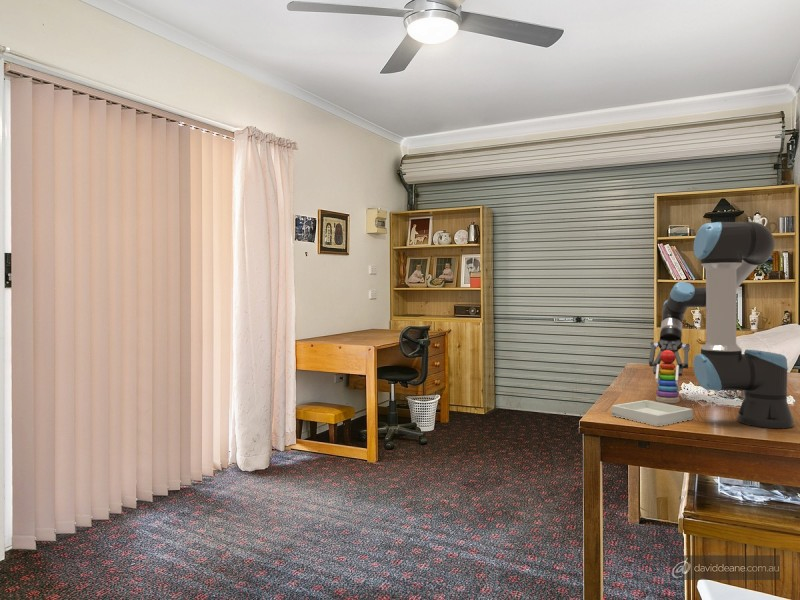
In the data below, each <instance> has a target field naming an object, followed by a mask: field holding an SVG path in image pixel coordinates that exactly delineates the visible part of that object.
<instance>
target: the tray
mask: <svg viewBox="0 0 800 600" xmlns="http://www.w3.org/2000/svg"><path fill="white" fill-rule="evenodd" d="M615 416H616V417H615ZM611 417H615V418H619V417H621V418H620V419H623V418H625V419H624V420H627V419H629V420H628V421H632V420H633V421H632V422H636V421H637V422H636V423H640V422H641V424H644V423H646V424H645V425H648V424H650V426H653V425H654V426H653V427H657V426H660V427H663V425H664V426H668V424H669V425H672V424H673V423H674V424H678V423H677V422H679V423H683V422H682V421H684V422H688V421H687V420H689V421H693V420H694V409H693V408H688V407H684V406H683V407H682V406H679V405H673V404H669V403H665V402H659V401H655V400H647V399H644V400H638V401H632V402H625V403H619V404H613V405H611ZM692 419H693V420H692ZM674 424H673V425H674Z"/></svg>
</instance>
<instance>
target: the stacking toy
mask: <svg viewBox="0 0 800 600" xmlns="http://www.w3.org/2000/svg"><path fill="white" fill-rule="evenodd" d="M660 358H661V363H660V364H659V367H660V370H659V381H658V383H657V384H658V385H657V390H656V392H655V393H656V396H655V399H656V402H659V403H664V404H669V403H670V404H671V403H672V404H675V403H678V402H680V400H681V399H680V397H679V395H680V393H679V391H678V390H679V387H678V384H676V381H675V378H676V364H675V363H674V362H675V361H676V358H675V354H674V352H672V351H670V350H665V351H663V352H662V353H661V355H660Z"/></svg>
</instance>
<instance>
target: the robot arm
mask: <svg viewBox="0 0 800 600" xmlns="http://www.w3.org/2000/svg"><path fill="white" fill-rule="evenodd" d="M694 236H695V238H694V241H693V253H694V257H695V258H696V259H698V260H700V266H702V268H704V270H705V275H706V276H705V287H695V286H694V285H693V284H692V283H689V282H686V281H679V282H677V283H675V284H674V285H673V287H672V289H671V290H670V292H669V296H668V299H667V300H665V301H664V302H663V306H662V307H661V309H662V310H661V311H662V312H661V324H660V333H659V340H658V342H655V343H654V341H653V342H650V353H649V358H648V364H649V367H652V368H653V369H652V371H653V373H652V374H653V375H655V384H658V381H659V379H660V378H659V375H660V372H659V370H660V369H661V367H660V365H661V363H662V360H661V358H660V355H661V353H662V352H663V351H665V350H670V351H672V352H674V354H675V361H676V363H677V365H676V364H675V371H676V373H675V375H676V378H675V381H676V384H677V385H679V378H680V377H682V376H683V369H689V352H690V348H691V347H690V344H689V343H683V342H682V336H683V325H684V324H683V321H684V317H685V316H684V315H685V313H686V311H687V310H688V308H705V343H704V345H702V346H701V347H700V353H697V354H696V355H694V358H693V361H692V362H693V363H692V365H693V367H692V368H693V372H694V375H695V376H694V377H695V379H696V381H697V383H698V384H699V386H700V387H702V388H703V389H704V390H706V391H717V392H720V391H744V393H743V394H744V395H743V396H744V400H743V401H741V402H742V403H741V406H740V407H739V410H738V412H737V421H738V422H740V423H742V424H745V425H747V426H752V427H758V428H765V429H766V428H767V429H790V428H792V427H794V417H793V414H792V412H791V408H790V406H789V404H788V399H787V398H788V371H789V367H788V359H787V357H786V356H785V355H783V354H781V353H776V352H771V351H763V350H758V349H757V350H756V349H745V350H744V352H743V354H742V348H741V347H740V346H739V345H738V344H737V289H738V288H739V287H740V286H741V284H742V283H744V281H745V280H746V279H747V278H748V277H749V276H750V275H751V274H752V272H754V270H755V269H756V268H757V267H758V266H762V265H763V264H765V263H766V262H767V261H768V260H769V259H770V258H771V256H772V255H773V253H774V250H775V246H776V245H775V244H776V242H775V237H774V235H773V232H772V231H771V230H770V229H769V228H768V227H767V226H765V225H764V224H761V223H759V222H757V221H756V222H755V221H716V222H708V223H707V222H706V223H704V224H702V225H701V226H700V227H699V229H698V230H697V232H696V234H695V235H694ZM658 348H659V349H660V350H659V353H658V354H657V355H655V354H656V350H657V349H658ZM681 349H682V350H683V354H684V355H683V356H684V357H683V360H684V361H682V358H681V356H680V353H679V351H680V350H681ZM683 362H684V363H683Z"/></svg>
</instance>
